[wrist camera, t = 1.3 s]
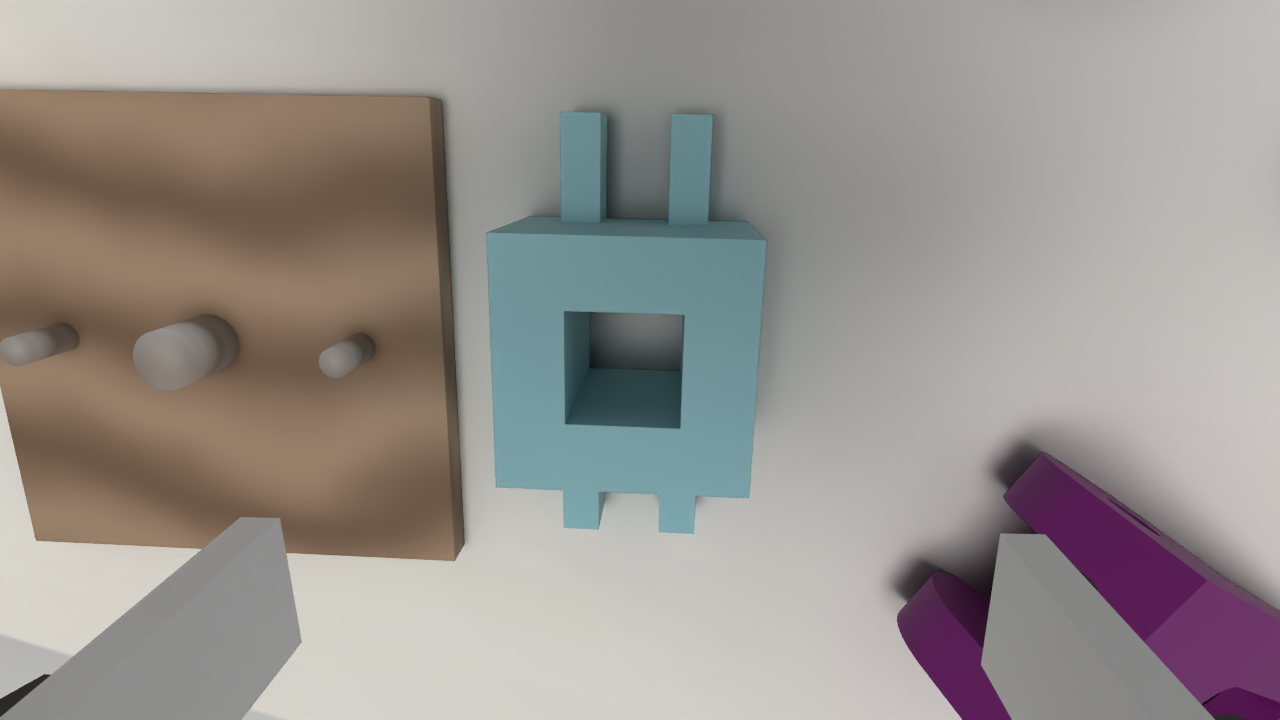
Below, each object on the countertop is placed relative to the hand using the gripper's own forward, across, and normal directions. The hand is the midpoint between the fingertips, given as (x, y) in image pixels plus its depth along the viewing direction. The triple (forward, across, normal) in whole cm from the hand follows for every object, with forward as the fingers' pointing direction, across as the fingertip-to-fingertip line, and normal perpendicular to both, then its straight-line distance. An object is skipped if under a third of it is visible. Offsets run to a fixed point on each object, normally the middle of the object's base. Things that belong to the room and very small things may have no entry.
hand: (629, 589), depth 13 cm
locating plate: (+18, -19, 0) cm, 27 cm away
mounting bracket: (+19, +20, -13) cm, 31 cm away
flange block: (+19, -1, 0) cm, 19 cm away
